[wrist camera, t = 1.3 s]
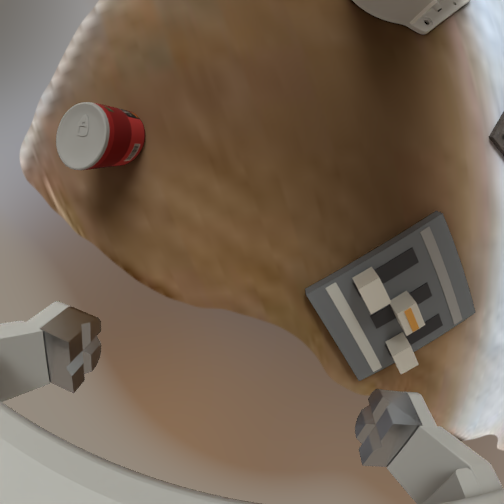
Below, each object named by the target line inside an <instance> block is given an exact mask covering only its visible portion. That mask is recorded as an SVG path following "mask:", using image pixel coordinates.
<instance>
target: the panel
mask: <svg viewBox="0 0 504 504" xmlns="http://www.w3.org/2000/svg"><path fill="white" fill-rule="evenodd" d="M370 267H372V268H373V269H374V271H375V272H376V273H377V275H378V276H379V278H380V280H381V282H382V284H383V286H384V288H385V290H386V292H387V294H388V296H389V298H390V300H392V299H393V298H395V297H397V296H398V295H400V294H402V293H403V292H405V291H407V292H408V293H409V294H410V295H411V296H412V298H413V299H414V300H415V301H416V303H417V305H418V308H419V310H420V313H421V315H422V318H423V320H424V323H425V325H424V326H423V327H421V328H420V329H418V330H416V331H415V332H413V333H411V334H409V335H408V336H406V334H405V332H404V331H403V329H402V327H401V326H400V324H399V322H398V320H397V318H396V316H395V314H394V312H393V310H392V307H391V305H390V304H388V305H387V306H385V307H383V308H381V309H380V310H378V311H376V312H374V313H373V314H371V313H370V311H369V309H368V307H367V305H366V304H365V302H364V300H363V298H362V296H361V294H360V292H359V290H358V288H357V286H356V284H355V283H354V281H353V279H352V278H353V277H354V276H356V275H358V274H360V273H361V272H363V271H365V270H366V269H368V268H370ZM305 291H306V295H307V297H308V299H309V300H310V302H311V304H312V305H313V307H314V308H315V310H316V312H317V313H318V315H319V316H320V318H321V320H322V321H323V323H324V324H325V326H326V328H327V329H328V331H329V333H330V334H331V336H332V337H333V339H334V341H335V342H336V344H337V346H338V347H339V349H340V351H341V352H342V354H343V355H344V357H345V359H346V360H347V362H348V364H349V365H350V367H351V369H352V370H353V372H354V374H355V375H356V377H357V379H358V380H359V381H360V380H362V379H364V378H366V377H368V376H370V375H372V374H374V373H376V372H378V371H380V370H382V369H384V368H386V367H388V366H390V365H391V364H393V363H395V361H394V359H393V357H392V355H391V353H390V351H389V349H388V346H387V344H386V341H387V340H389V339H391V338H393V337H395V336H396V335H398V334H400V333H402V332H403V333H404V335H405V337H406V338H407V340H408V342H409V344H410V345H411V347H412V350H413V352H415V351H416V350H418V349H420V348H421V347H423V346H425V345H426V344H428V343H430V342H431V341H433V340H435V339H436V338H438V337H439V336H441V335H443V334H444V333H446V332H447V331H449V330H450V329H452V328H453V327H455V326H456V325H458V324H459V323H461V322H462V321H464V320H465V319H467V318H468V317H470V316H471V315H473V314H474V313H475V308H474V305H473V301H472V297H471V294H470V290H469V287H468V284H467V280H466V277H465V274H464V271H463V268H462V265H461V261H460V259H459V256H458V253H457V250H456V247H455V244H454V241H453V239H452V236H451V233H450V231H449V228H448V226H447V223H446V221H445V218H444V216H443V213H441V212H438V211H435V212H434V213H432V214H431V215H429V216H427V217H426V218H424V219H423V220H421V221H420V222H418V223H416V224H415V225H413V226H412V227H410V228H408V229H407V230H405V231H403V232H402V233H400V234H399V235H397V236H395V237H394V238H392V239H390V240H389V241H387V242H385V243H384V244H382V245H381V246H379V247H377V248H376V249H374V250H372V251H370V252H369V253H367V254H365V255H364V256H362V257H360V258H359V259H357V260H355V261H353V262H352V263H350V264H348V265H347V266H345V267H343V268H341V269H340V270H338V271H336V272H334V273H333V274H331V275H329V276H327V277H326V278H324V279H322V280H320V281H318V282H317V283H315V284H313V285H311V286H310V287H308V288H306V289H305Z"/></svg>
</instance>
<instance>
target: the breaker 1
mask: <svg viewBox="0 0 504 504" xmlns="http://www.w3.org/2000/svg"><path fill="white" fill-rule="evenodd" d="M352 279H353V281H354V283H355V284H356V286H357V288H358V290H359V292H360V294H361V296H362V298H363V300H364V302H365V304H366V305H367V307H368V309H369V311H370V313H371V314H373V313H374V312H376V311H378V310H380V309H381V308H383V307H385V306H387V305H388V304H390V303H391V300H390V298H389V296H388V294H387V292H386V290H385V288H384V286H383V284H382V282H381V280H380V278H379V276H378V275H377V273H376V272H375V271H374V269H373V268H372V267H370V268H368V269H366V270H365V271H363V272H361V273H360V274H358V275H356V276H354V277H353V278H352Z"/></svg>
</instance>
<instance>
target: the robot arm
mask: <svg viewBox="0 0 504 504" xmlns="http://www.w3.org/2000/svg"><path fill="white" fill-rule="evenodd" d="M352 1H353V2H354V3H355V4H357V5H358V6H359V7H360V8H362V9H363V10H365V11H366V12H368V13H369V14H371V15H373V16H375V17H377V18H380V19H382V20H385V21H389V22H393V23H398V24H402V25H405V26H407V27H408V28H410V29H412V30H413V31H415V32H417V33H419V34H423V35H424V34H427V33H428V32H430V31H431V30H432V29H434V28H435V27H436V26H437V25H439V24H440V23H441V22H443V21H444V20H445V19H447V18H448V17H449V16H451V15H452V14H453V13H455V12H456V11H457V10H459V9H460V8H461V7H463V6H464V5H465V4H467V3H468V2H469V1H470V0H352ZM424 21H425V22H427V24H428V25H427V24H425V22H424ZM100 332H101V321H100V319H99V318H98V317H95V316H93V315H90V314H88V313H86V312H83V311H81V310H78V309H76V308H74V307H71V306H69V305H67V304H64V303H62V302H58V301H57V302H56V301H55V302H54V303H53V304H51V305H50V306H48V307H47V308H45V309H44V310H43V311H41V312H40V313H38V314H37V315H36V316H34V317H33V318H32V319H30V320H28V321H27V322H24V321H15V322H9V323H1V324H0V504H259V503H253V502H248V501H242V500H237V499H231V498H227V497H221V496H217V495H213V494H208V493H204V492H200V491H196V490H193V489H189V488H185V487H181V486H178V485H175V484H171V483H168V482H165V481H162V480H159V479H156V478H153V477H150V476H147V475H144V474H141V473H139V472H136V471H133V470H130V469H128V468H125V467H123V466H120V465H117V464H115V463H113V462H110V461H108V460H106V459H103V458H101V457H99V456H97V455H94V454H92V453H90V452H88V451H86V450H84V449H82V448H79V447H77V446H75V445H73V444H71V443H69V442H67V441H66V440H64V439H62V438H60V437H58V436H56V435H54V434H52V433H51V432H49V431H47V430H45V429H43V428H42V427H40V426H38V425H37V424H35V423H33V422H32V421H30V420H28V419H27V418H25V417H23V416H22V415H20V414H19V413H17V412H16V411H14V410H13V409H11V408H9V407H8V406H7V405H5V404H4V403H2V402H3V401H5V400H8V399H11V398H14V397H16V396H19V395H21V394H24V393H27V392H29V391H32V390H34V389H37V388H40V387H42V386H45V385H47V384H50V382H51V383H53V384H55V385H57V386H59V387H61V388H64V389H66V390H68V391H70V392H72V393H74V392H75V391H76V390H77V389H78V388H79V386H80V385H81V384H82V382H84V374H85V373H88V372H91V371H93V369H94V368H95V367H96V365H97V363H98V360H99V358H100V353H101V343H100V341H99V339H98V337H97V335H98V334H99V333H100ZM368 400H369V406H367V407H365V408H364V409H362V410H361V412H360V414H359V416H358V418H357V421H356V426H355V434H356V438H357V439H358V440H359V441H360V442H361V443H362V445H361V447H360V448H359V452H360V457H361V462H362V465H365V466H382V467H383V466H384V467H387V469H388V470H389V471H390V472H391V474H392V475H393V476H394V477H395V478H396V480H397V481H398V482H399V483H400V484H401V486H402V487H403V488H404V489H405V490H406V491H407V493H408V494H409V495H410V496H411V497H412V499H414V501H415V502H416V503H417V504H504V489H503V487H502V485H501V483H500V481H499V479H498V477H497V475H496V473H495V471H494V469H493V467H492V466H491V463H489V462H488V461H487V460H485V459H484V458H483V457H481V456H480V455H478V454H477V453H476V452H474V451H473V450H472V449H470V448H469V447H468V446H466V445H465V444H463V443H462V442H461V441H460V440H458V439H457V438H456V437H454V436H453V435H452V434H450V433H449V432H448V431H446V430H445V429H444V428H442V427H441V426H437V425H436V423H435V421H434V419H433V417H432V415H431V413H430V411H429V409H428V407H427V405H426V403H425V401H424V399H423V397H422V396H421V394H419V393H417V392H399V391H389V390H381V389H375V390H374V391H373V392H372V393H371V395H370V397H369V399H368Z"/></svg>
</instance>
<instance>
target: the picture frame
mask: <svg viewBox="0 0 504 504" xmlns="http://www.w3.org/2000/svg"><path fill="white" fill-rule="evenodd" d="M489 138H490V139H491V140H492V141H493V143H494V144H495V145H496V147H497V148H498V149H499V150H500V152H501V153H502V154H503V156H504V112H503V114H502V115H501V117H500V119H499V120H498V122H497V124H496V126H495V127H494V129H493V131H492V132H491V134H490V136H489Z"/></svg>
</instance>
